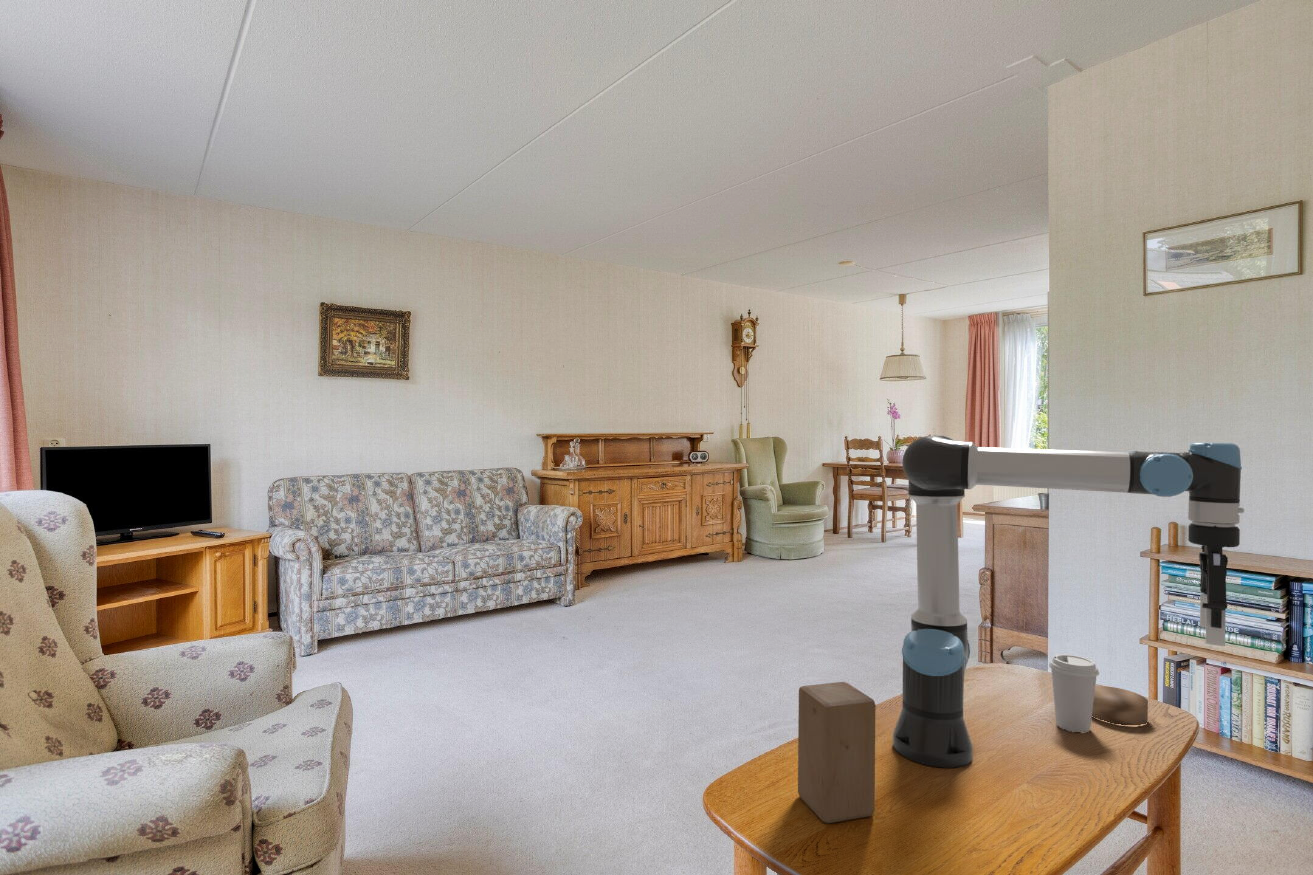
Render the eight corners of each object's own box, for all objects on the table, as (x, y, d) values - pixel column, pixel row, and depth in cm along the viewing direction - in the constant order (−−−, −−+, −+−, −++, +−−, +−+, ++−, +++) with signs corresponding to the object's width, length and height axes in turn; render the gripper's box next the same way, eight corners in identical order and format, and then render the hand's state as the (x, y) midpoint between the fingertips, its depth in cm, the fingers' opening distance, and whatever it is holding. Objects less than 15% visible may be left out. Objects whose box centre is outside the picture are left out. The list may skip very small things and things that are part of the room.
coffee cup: (1058, 714, 158) (1058, 650, 158) (1105, 728, 151) (1105, 661, 151) (1041, 725, 152) (1041, 658, 152) (1089, 740, 145) (1090, 670, 145)
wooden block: (824, 826, 112) (825, 705, 112) (795, 795, 122) (796, 684, 122) (877, 817, 115) (878, 699, 115) (844, 787, 125) (845, 679, 124)
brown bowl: (1087, 720, 155) (1087, 699, 155) (1083, 702, 166) (1083, 682, 166) (1151, 732, 149) (1151, 709, 149) (1143, 713, 160) (1143, 691, 160)
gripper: (1248, 533, 116) (1246, 656, 116) (1232, 519, 137) (1230, 624, 137) (1192, 529, 121) (1190, 648, 121) (1184, 516, 141) (1183, 618, 141)
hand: (1211, 635), depth 129 cm, fingers open, 13 cm apart
